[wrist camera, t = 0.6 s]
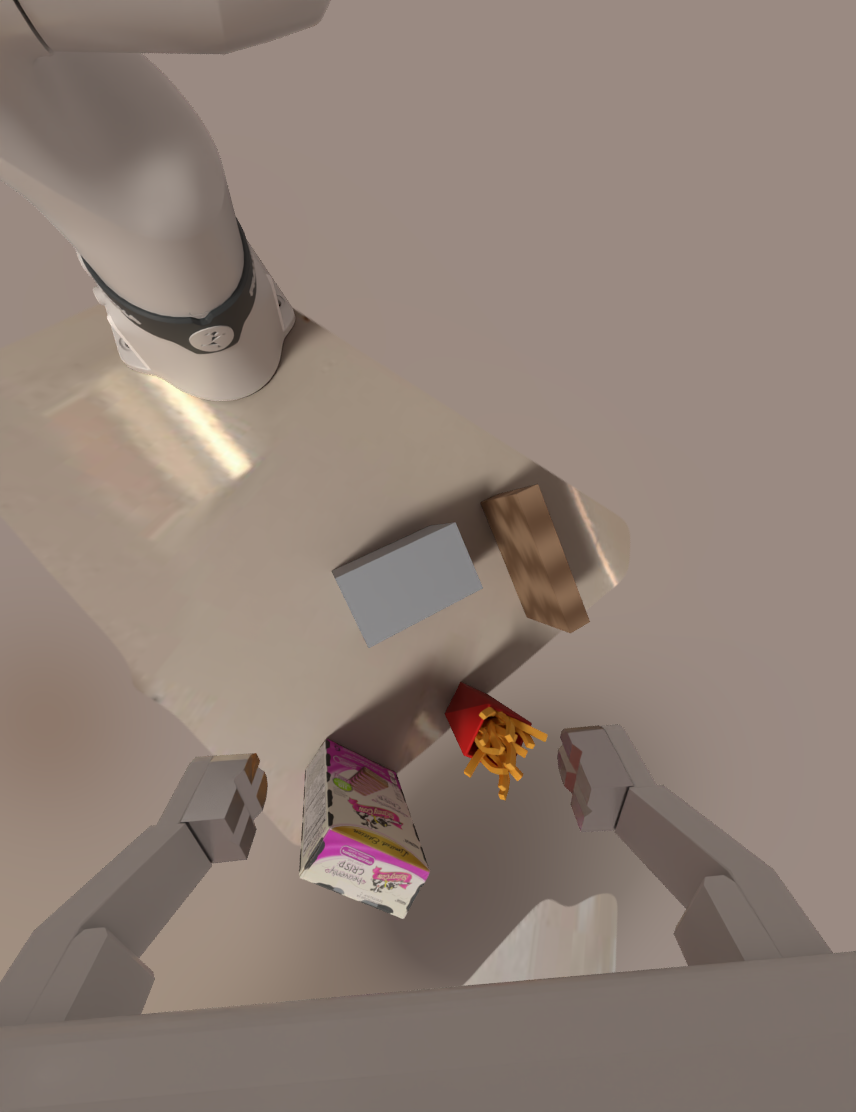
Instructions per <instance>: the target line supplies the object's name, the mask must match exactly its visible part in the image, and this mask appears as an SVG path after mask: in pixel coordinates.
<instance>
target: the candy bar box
mask: <svg viewBox="0 0 856 1112" xmlns="http://www.w3.org/2000/svg"><path fill="white" fill-rule="evenodd" d="M429 873H430V870H429V867H428V864H427V862H426V858H425V855H424V853H423V849H422V847H421V844H420V841H419V838H418V835H417V832H416V829H415V826H414V823H413V820H412V818H411V816H410V812H409V809H408V806H407V804H406V801H405V798H404V795H403V792H402V789H401V786H400V783H399V780H398V777H397V774H396V773H395V772H393V771H391V770H389V769H387V768H385V767H383V766H381V765H379V764H377V763H375V762H373V761H371V760H369V759H367V758H365V757H363V756H361V755H359V754H357V753H355V752H353V751H351V750H349V749H347V748H345V747H343V746H341V745H339V744H337V743H335V742H333V741H331V740H329V739H326V740H325V741H324V743H323V744H322V745H321V747H320V749H319V751H318V752H317V754H316V755H315V757H314V758H313V760H312V761H311V763H310V764H309V766H308V767H307V768H306V770H305V785H304V804H303V820H302V838H301V854H300V870H299V877H300V878H301V879H304V880H306V881H309V882H312V883H314V884H317V885H319V886H322V887H324V888H327V889H329V890H332V891H334V892H337V893H339V894H342V895H344V896H347V897H349V898H352V899H355V900H357V901H359V902H362V903H364V904H367V905H370V906H372V907H374V908H377V909H380V910H382V911H385V912H387V913H390V914H392V915H395V916H397V917H399V918H402V919H404V917H405V916H406V914H407V912H408V910H409V908H410V907H411V905H412V903H413V901H414V899H415V897H416V896H417V894H418V892H419V889H420V887H422V885H424V883H425V881H426V879H427V877H428V875H429Z"/></svg>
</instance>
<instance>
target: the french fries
mask: <svg viewBox="0 0 856 1112" xmlns="http://www.w3.org/2000/svg"><path fill="white" fill-rule="evenodd" d="M445 716H446V718H447V720H448V722H449V724H450V726H451V729H452V731H453V733H454V735H455V737H456V740H457V742H458V744H459V746H460V748H461V750H462V753H463V755H464V756H467V757H469V758H472V759H471V760H470V762H469V763H468V765H467V767H466V769H465V770H464V774H466V775H467V776H469V777H471V776H472V774H473V772H474V771H475V769H476V767H477V766H478V764H479V762H481V763H482V764H483V765H484V766H485V767H486V768H487V769H488V770H489V771H490V772H492V773H495V774H499V784H498V787H499V788H500V791H499V797H500V799H502V800H506V796H507V793H508V790H509V784H510V778H509V772H510V773H511V774H512V776H513V777H514V778H515V779H516V780H517V781H518V780H519V779H521V778H522V776H523V773H522V772H521V771H520V770H519V769H518V768H517V767H516V756H517V754H519V755H521V756H522V757H524V758H525V756H526V754H527V750H526V749H524V748H523V747H521V746H522V743H523V741H524V743H525V746H526V747H527V748H531V749H533V747H534V746H535V744H534V742H533V740H532V738H531V736H530V735H532V736H534V737H536V738H538V739H540V740H542V741H544V742H545V741H546V738H547V734H545V733H543V732H541V731H539V730H537V729H535V728H533V727H531V722H529V721H528V720H526V719H525V718H523V717H522V716H520V715H518V714H517V713H515V712H514V711H512V710H511V709H509V708H508V707H506V706H504V705H503V704H502V703H500V702H499V701H497V700H496V699H494V698H492V697H491V696H489V695H488V694H486V693H483V692H481V691H479V690H477V689H475V688H473V687H471V686H469V685H466V684H464V683H462V682H460V684H459V686H458V688H457V690H456V692H455V694H454V696H453V698H452V700H451V702H450V704H449V706H448V708H447V710H446V712H445Z"/></svg>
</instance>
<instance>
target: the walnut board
mask: <svg viewBox="0 0 856 1112" xmlns="http://www.w3.org/2000/svg"><path fill="white" fill-rule="evenodd" d="M481 505H482V507H483V510H484V512H485V515H486V517H487V520H488V522H489V525H490V527H491V530H492V532H493V535H494V537H495V540H496V542H497V545H498V547H499V549H500V552H501V554H502V557H503V559H504V562H505V564H506V567H507V569H508V572H509V574H510V577H511V579H512V582H513V584H514V587H515V589H516V592H517V594H518V597H519V599H520V601H521V604H522V606H523V609H524V611H525V614H526V616H527V617H528V618H530V619H533V620H536V621H538V622H541V623H544V624H547V625H549V626H552V627H555V628H557V629H560V630H563V631H566V632H569V633H572V632H574V631H575V630H577V629H579V628H580V627H582V626H584V625H585V624H587V623H589V622H590V621H589V618H588V615H587V613H586V610H585V607H584V605H583V602H582V599H581V597H580V594H579V591H578V589H577V586H576V583H575V581H574V578H573V575H572V573H571V570H570V567H569V565H568V562H567V559H566V557H565V554H564V552H563V549H562V546H561V544H560V541H559V538H558V536H557V533H556V530H555V528H554V525H553V522H552V520H551V517H550V514H549V512H548V509H547V506H546V504H545V501H544V498H543V496H542V493H541V490H540V488H539V485H538V484H536V485H532V486H528V487H524V488H520V489H516V490H512V491H509V492H505V493H501V494H498V495H495V496H493V497H491V498H489V499H487V500H485V501H482V502H481Z"/></svg>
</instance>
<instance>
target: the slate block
mask: <svg viewBox="0 0 856 1112" xmlns="http://www.w3.org/2000/svg"><path fill="white" fill-rule="evenodd" d="M332 573H333V575H334V577H335V579H336V581H337V584H338V586H339V588H340V590H341V592H342V594H343V596H344V598H345V600H346V602H347V604H348V606H349V608H350V610H351V613H352V615H353V617H354V619H355V621H356V623H357V625H358V627H359V629H360V631H361V633H362V635H363V637H364V639H365V642H366V644H367V646H368V648H370V647H372V646H374V645H376V644H378V643H379V642H381V641H383V640H385V639H387V638H389V637H391V636H393V635H395V634H397V633H399V632H400V631H402V630H404V629H406V628H408V627H410V626H412V625H414V624H416V623H418V622H419V621H421V620H423V619H425V618H427V617H429V616H431V615H433V614H435V613H437V612H438V611H440V610H442V609H444V608H446V607H448V606H450V605H452V604H454V603H456V602H458V601H459V600H461V599H463V598H465V597H467V596H469V595H471V594H473V593H475V592H477V591H478V590H480V589H482V588H483V587H482V585H481V582H480V580H479V577H478V575H477V573H476V570H475V568H474V565H473V563H472V561H471V558H470V556H469V554H468V551H467V549H466V546H465V544H464V542H463V539H462V537H461V534H460V532H459V530H458V527H457V525H456V523H455V522H454V523H446V524H439V525H431V526H428V527H426V528H424V529H421V530H419V531H417V532H415V533H413V534H411V535H408V536H406V537H404V538H402V539H400V540H398V541H395V542H393V543H391V544H389V545H387V546H385V547H382V548H380V549H378V550H376V551H374V552H372V553H369V554H367V555H365V556H363V557H361V558H359V559H356V560H354V561H352V562H350V563H348V564H346V565H343V566H341V567H339V568H337V569H335V570H333V571H332Z"/></svg>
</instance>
